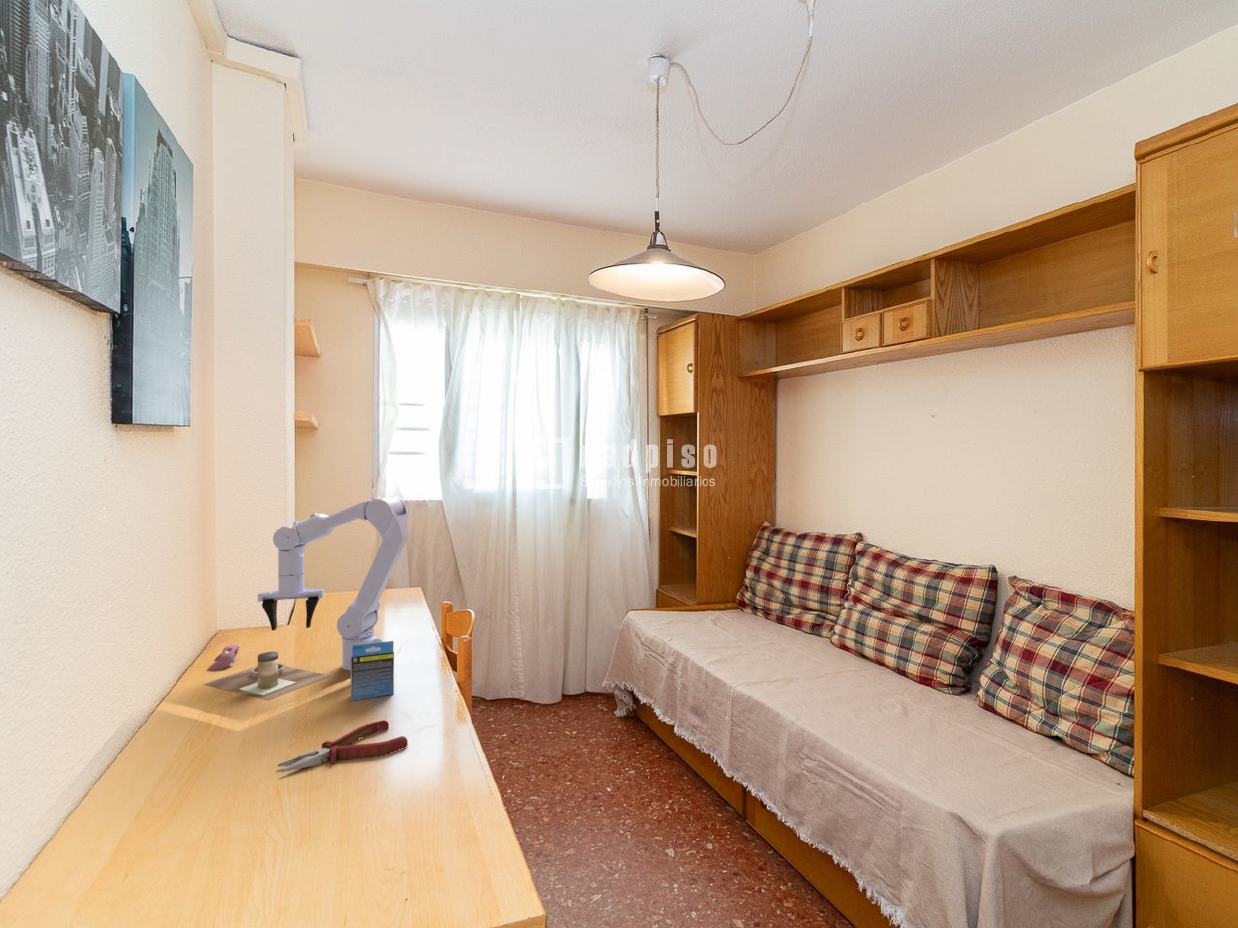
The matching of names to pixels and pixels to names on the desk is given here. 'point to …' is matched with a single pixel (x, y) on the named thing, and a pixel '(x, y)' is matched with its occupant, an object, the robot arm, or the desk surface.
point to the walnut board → (245, 679)
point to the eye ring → (280, 670)
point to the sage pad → (255, 690)
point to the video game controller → (225, 658)
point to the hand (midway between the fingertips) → (291, 627)
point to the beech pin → (267, 670)
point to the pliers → (348, 748)
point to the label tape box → (372, 670)
